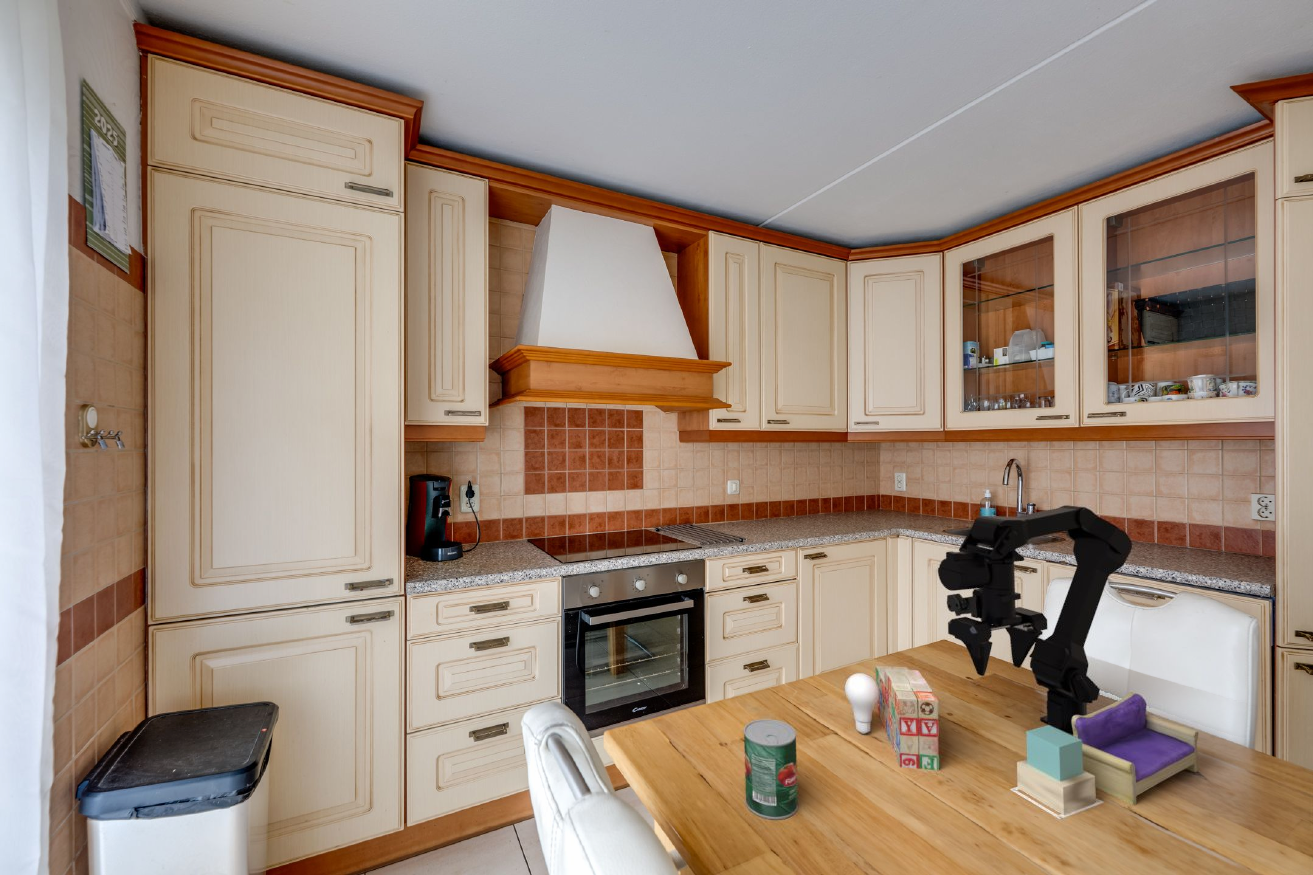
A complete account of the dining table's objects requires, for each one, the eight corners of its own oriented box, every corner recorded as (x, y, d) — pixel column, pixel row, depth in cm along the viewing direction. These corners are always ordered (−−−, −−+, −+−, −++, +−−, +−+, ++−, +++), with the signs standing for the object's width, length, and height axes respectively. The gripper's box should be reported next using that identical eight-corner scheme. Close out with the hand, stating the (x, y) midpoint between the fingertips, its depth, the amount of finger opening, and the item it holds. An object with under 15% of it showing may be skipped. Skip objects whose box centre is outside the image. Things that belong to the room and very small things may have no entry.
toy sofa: (1132, 812, 83) (1130, 741, 83) (1068, 780, 91) (1066, 716, 91) (1201, 773, 92) (1199, 709, 92) (1137, 747, 100) (1136, 689, 100)
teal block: (1049, 756, 90) (1048, 724, 90) (1082, 773, 85) (1081, 740, 85) (1027, 763, 88) (1026, 731, 88) (1060, 781, 83) (1059, 747, 83)
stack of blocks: (876, 711, 116) (874, 650, 116) (909, 713, 114) (907, 651, 115) (900, 771, 95) (897, 697, 95) (940, 774, 94) (938, 699, 94)
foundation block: (1048, 777, 91) (1047, 752, 91) (1095, 803, 84) (1095, 775, 84) (1017, 788, 88) (1016, 762, 88) (1063, 815, 82) (1063, 787, 82)
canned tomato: (742, 787, 91) (740, 718, 91) (792, 787, 91) (790, 718, 91) (749, 820, 83) (747, 744, 83) (803, 820, 83) (801, 744, 83)
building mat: (1036, 761, 96) (1036, 758, 96) (1130, 810, 83) (1129, 807, 83) (975, 780, 91) (975, 777, 91) (1065, 836, 78) (1065, 832, 78)
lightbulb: (845, 738, 105) (843, 678, 105) (847, 722, 111) (845, 666, 111) (880, 743, 103) (878, 683, 103) (880, 727, 109) (879, 670, 109)
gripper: (993, 571, 116) (995, 648, 116) (923, 581, 109) (925, 663, 109) (1048, 584, 105) (1050, 668, 105) (974, 595, 99) (976, 686, 98)
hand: (999, 670), depth 105 cm, fingers open, 9 cm apart
